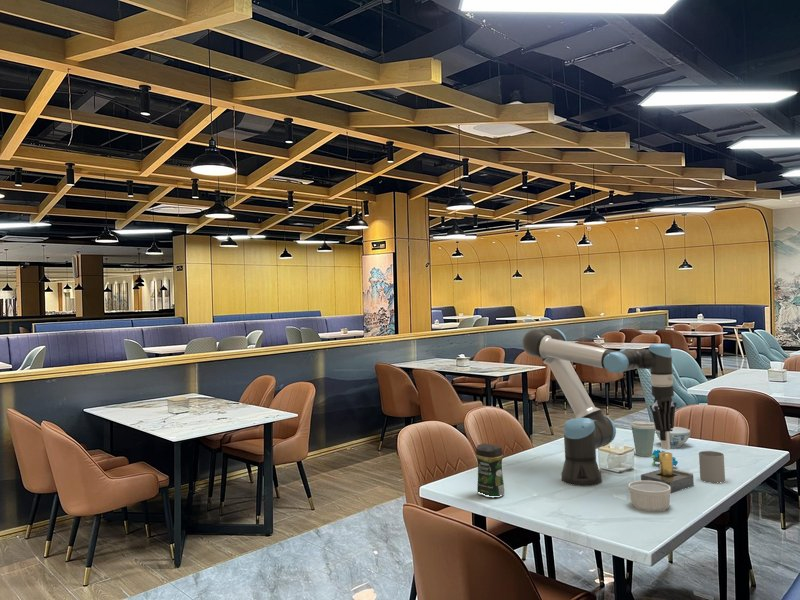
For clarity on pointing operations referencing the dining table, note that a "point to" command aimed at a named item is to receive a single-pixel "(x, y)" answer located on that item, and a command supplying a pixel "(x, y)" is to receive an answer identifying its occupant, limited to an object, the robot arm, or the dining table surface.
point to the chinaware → (677, 436)
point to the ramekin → (650, 495)
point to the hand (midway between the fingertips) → (665, 448)
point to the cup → (712, 466)
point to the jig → (671, 479)
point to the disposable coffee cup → (643, 437)
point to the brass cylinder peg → (666, 464)
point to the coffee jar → (490, 470)
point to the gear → (657, 459)
